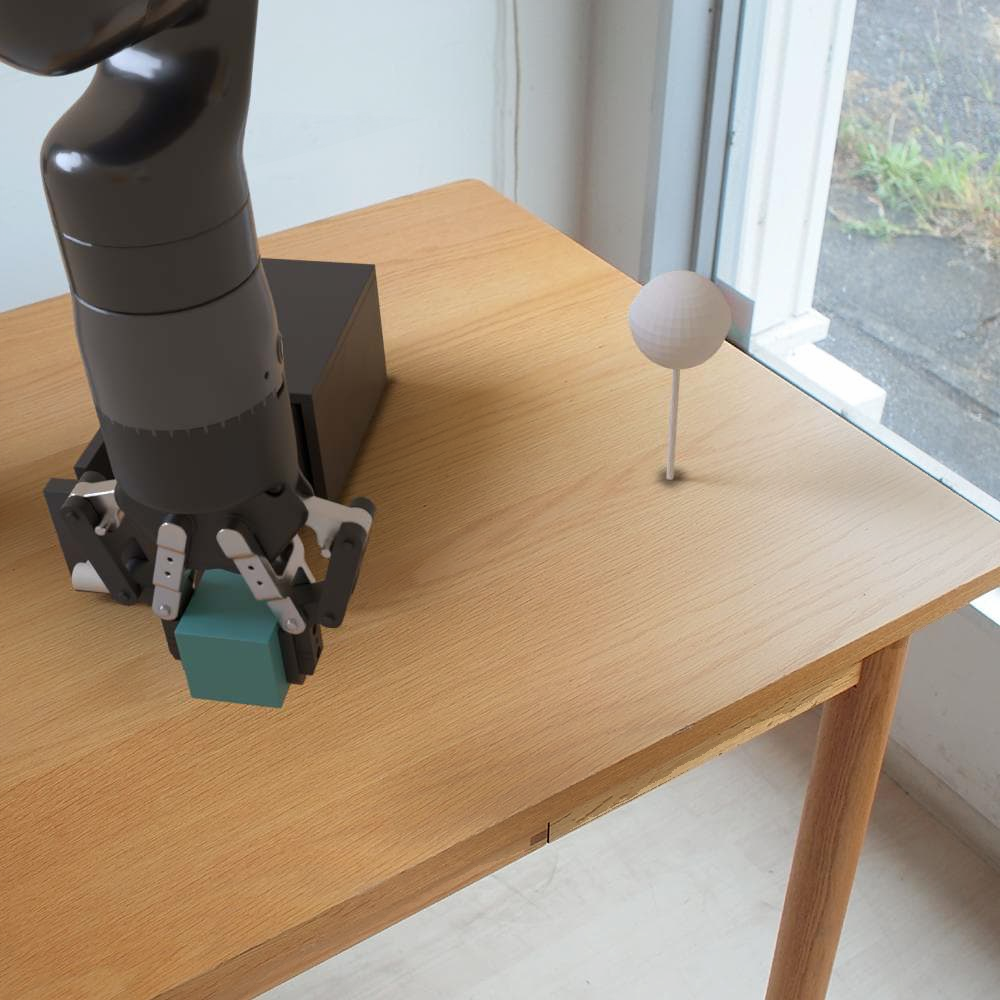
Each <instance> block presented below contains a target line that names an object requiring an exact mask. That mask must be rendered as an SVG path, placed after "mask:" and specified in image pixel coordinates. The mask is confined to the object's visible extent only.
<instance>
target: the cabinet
mask: <svg viewBox="0 0 1000 1000" xmlns="http://www.w3.org/2000/svg"><path fill="white" fill-rule="evenodd" d="M261 261H262V265H263V269H264V272H265V275H266V278H267V281H268V284H269V287H270V290H271V294H272V297H273V301H274V305H275V310H276V315H277V322H278V328H279V331H280V333H281V334H282V336H283V342H284V366H285V373H286V379H287V385H288V392H289V398H290V403H296V404H301V408H302V414H303V420H304V427H305V433H306V439H307V445H308V451H309V458H310V464H311V470H312V476H313V482H314V489H313V491H314V495H315V497H318V498H322V499H325V500H328V501H331V502H334V503H337V501H338V499H339V496H340V494H341V492H342V489H343V487H344V485H345V482H346V480H347V478H348V476H349V473H350V470H351V468H352V465H353V463H354V461H355V458H356V456H357V454H358V451H359V449H360V446H361V445H362V441H363V440H364V437H365V434H366V432H367V429H368V428H369V425H370V422H371V421H372V418H373V415H374V413H375V411H376V409H377V406H378V403H379V401H380V398H381V396H382V393H383V391H384V390H385V386H386V384H387V382H388V372H387V371H388V370H387V362H386V353H385V351H386V350H385V343H384V335H383V325H382V324H383V323H382V316H381V307H380V298H379V289H378V288H379V287H378V278H377V271H376V264H374V263H360V262H343V261H323V260H305V259H287V258H271V257H270V258H269V257H261Z"/></svg>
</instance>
